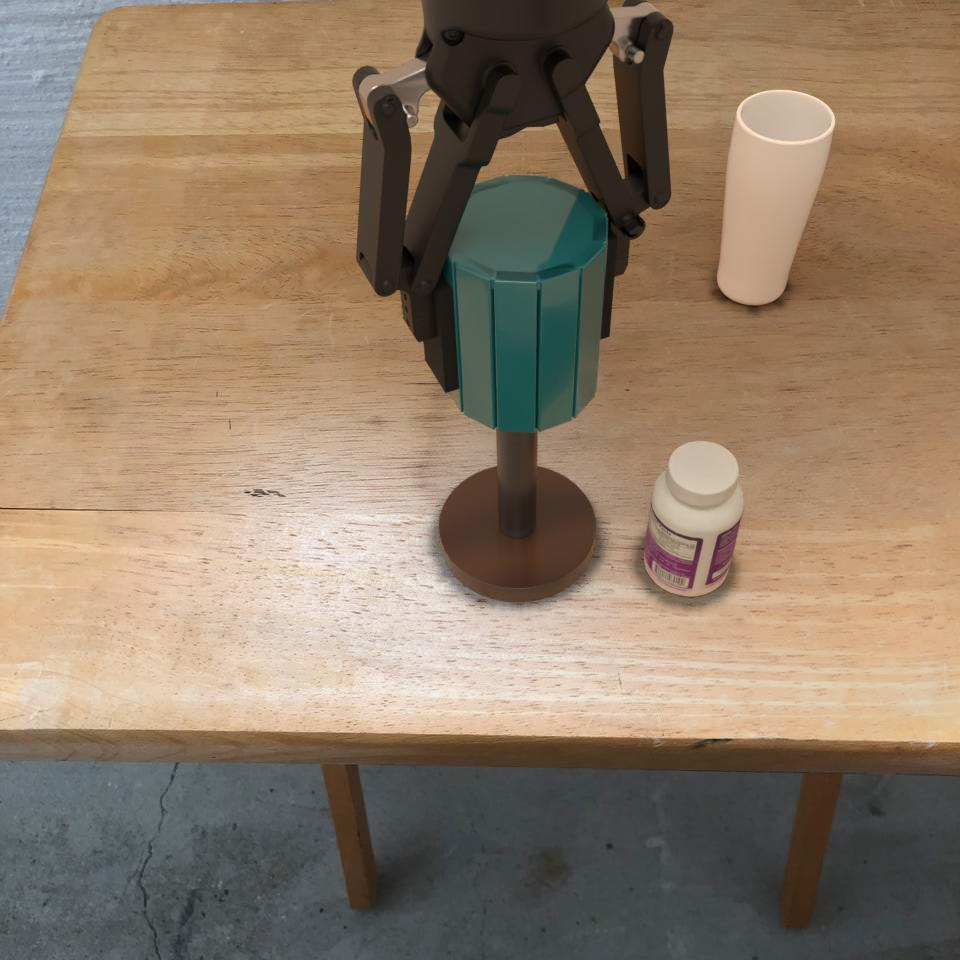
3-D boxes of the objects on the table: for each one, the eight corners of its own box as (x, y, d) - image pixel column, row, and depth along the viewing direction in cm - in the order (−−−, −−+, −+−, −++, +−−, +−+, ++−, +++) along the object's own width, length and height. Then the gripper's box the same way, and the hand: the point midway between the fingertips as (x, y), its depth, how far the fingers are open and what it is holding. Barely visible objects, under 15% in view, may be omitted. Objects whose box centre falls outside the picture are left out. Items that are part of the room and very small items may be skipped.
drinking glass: (794, 262, 88) (836, 91, 76) (794, 319, 83) (838, 147, 72) (708, 254, 89) (736, 84, 77) (704, 310, 84) (733, 139, 73)
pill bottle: (707, 522, 71) (729, 421, 64) (741, 587, 68) (769, 489, 61) (629, 541, 71) (642, 442, 63) (660, 608, 67) (677, 512, 60)
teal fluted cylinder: (623, 402, 58) (639, 250, 50) (485, 452, 56) (479, 302, 48) (554, 310, 62) (559, 158, 55) (424, 353, 60) (410, 202, 53)
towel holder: (623, 566, 69) (652, 332, 54) (479, 625, 67) (466, 398, 52) (551, 458, 75) (559, 219, 60) (416, 509, 73) (388, 273, 57)
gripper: (703, -191, 45) (653, 251, 63) (213, -85, 40) (307, 365, 58) (812, -125, 41) (726, 331, 58) (276, 4, 36) (357, 462, 53)
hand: (517, 348), depth 58 cm, fingers closed on teal fluted cylinder, 8 cm apart
